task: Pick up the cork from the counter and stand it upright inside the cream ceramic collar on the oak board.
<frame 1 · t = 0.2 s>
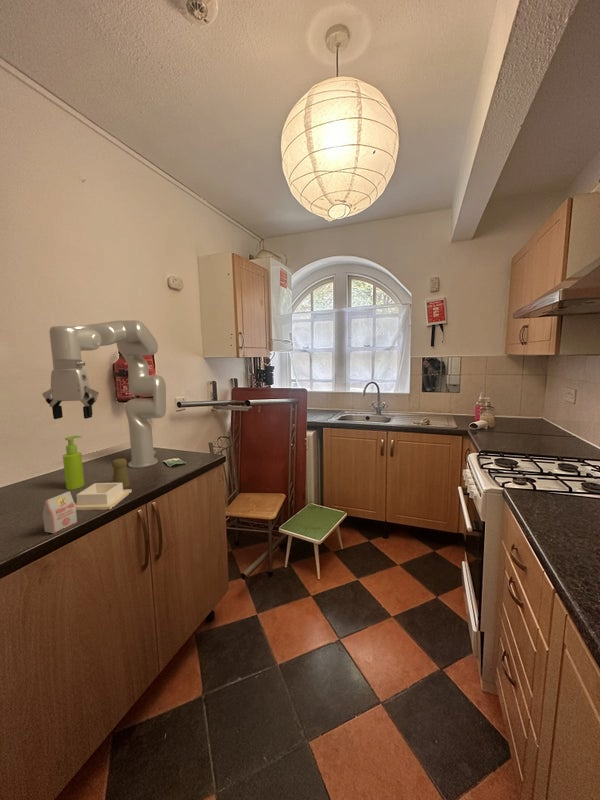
hand: (73, 418, 102), 31 cm above the table, tool pointing down, fingers open, 9 cm apart
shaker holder: (101, 500, 111), on the table
soap dispenser: (77, 486, 124), on the table
white carton: (61, 528, 93), on the table
cork: (121, 486, 124), on the table
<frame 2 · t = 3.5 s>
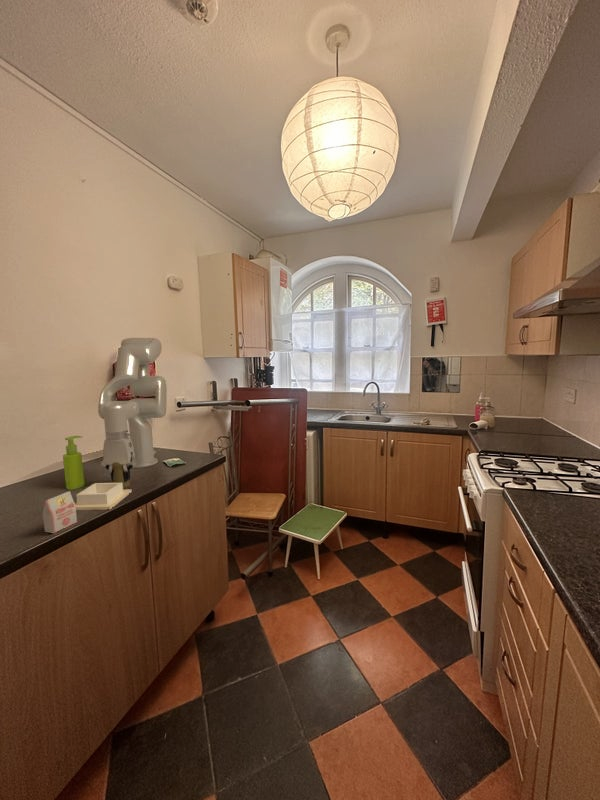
hand: (120, 480, 123), 2 cm above the table, tool pointing down, fingers closed on cork, 3 cm apart
cork: (121, 486, 124), on the table, touching gripper
everything else where it was.
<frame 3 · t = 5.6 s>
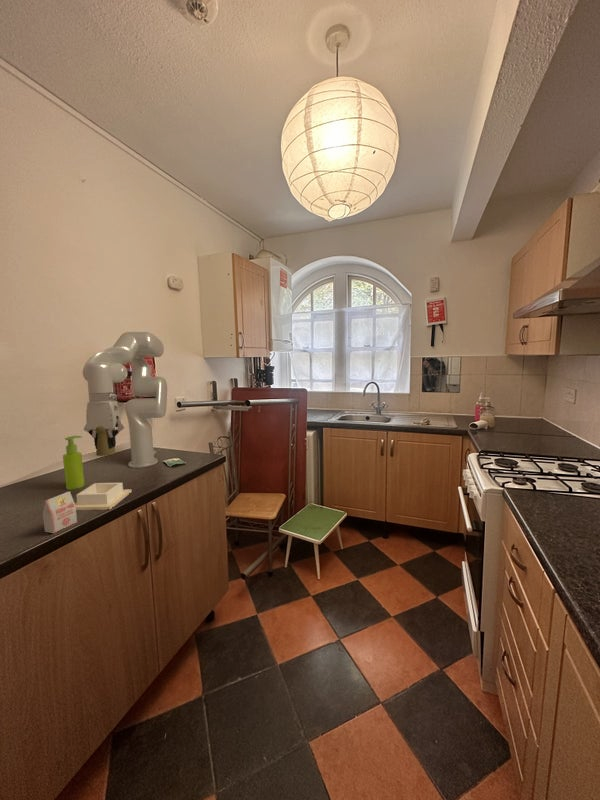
hand: (105, 447, 113), 18 cm above the table, tool pointing down, fingers closed on cork, 3 cm apart
cork: (105, 454, 114), point 15 cm above the table, touching gripper
everything else where it was.
when the fingers open (5 cm above the table, at t = 8.0 s): cork drops 1 cm, resting on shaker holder.
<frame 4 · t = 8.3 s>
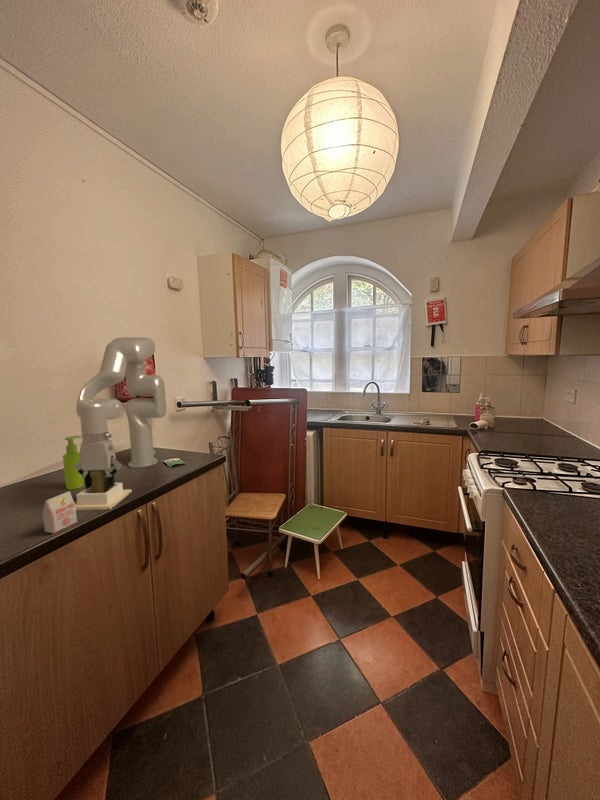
hand: (100, 486, 110), 5 cm above the table, tool pointing down, fingers open, 6 cm apart
cork: (100, 498, 111), point 1 cm above the table, touching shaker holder
everything else where it was.
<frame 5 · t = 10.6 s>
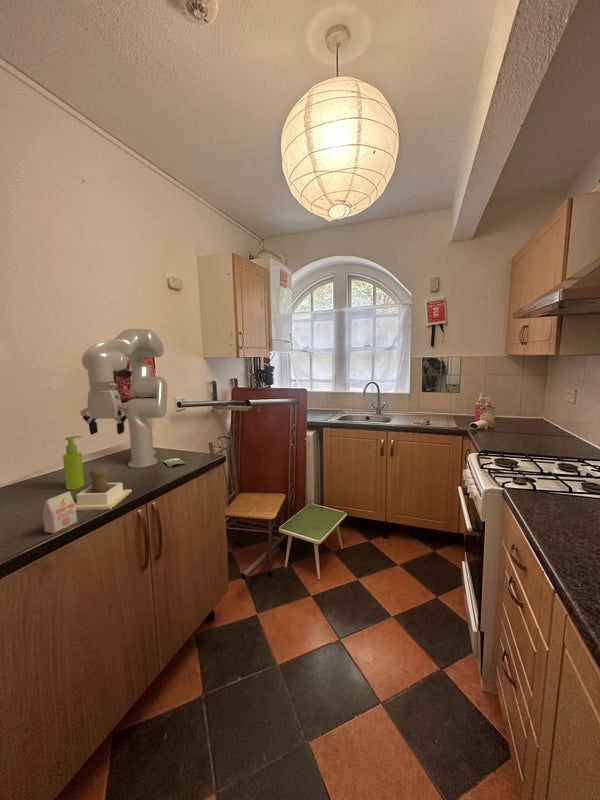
hand: (107, 433, 114), 23 cm above the table, tool pointing down, fingers open, 9 cm apart
nothing on the table moved.
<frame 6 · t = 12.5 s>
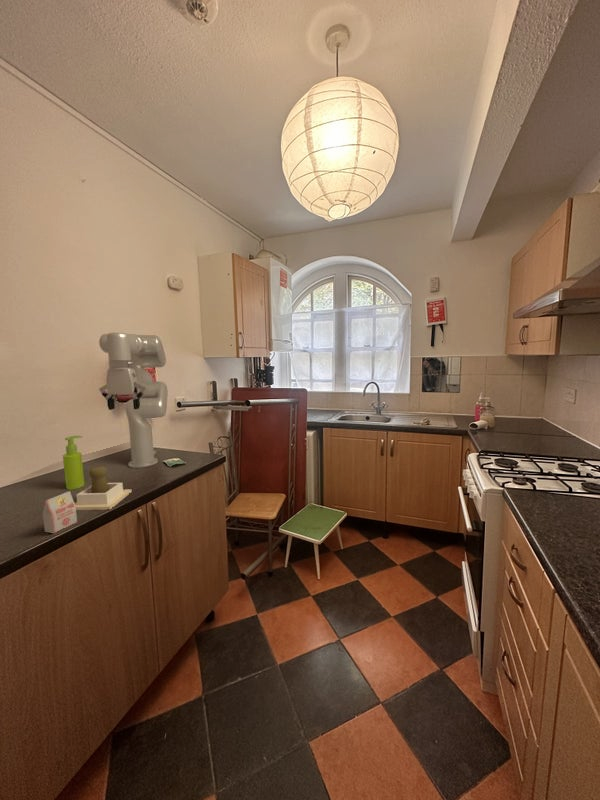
hand: (124, 409, 123), 30 cm above the table, tool pointing down, fingers open, 9 cm apart
nothing on the table moved.
at the end: cork 0.2 cm off-centre on the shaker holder, point 0.8 cm above the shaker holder's base; cork tilted 0° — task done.
